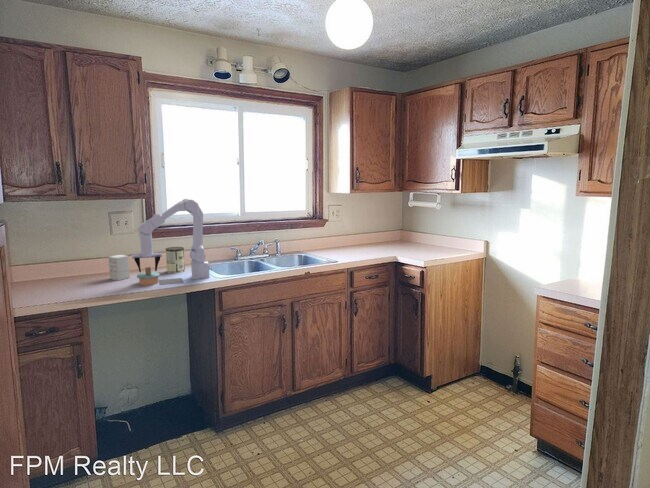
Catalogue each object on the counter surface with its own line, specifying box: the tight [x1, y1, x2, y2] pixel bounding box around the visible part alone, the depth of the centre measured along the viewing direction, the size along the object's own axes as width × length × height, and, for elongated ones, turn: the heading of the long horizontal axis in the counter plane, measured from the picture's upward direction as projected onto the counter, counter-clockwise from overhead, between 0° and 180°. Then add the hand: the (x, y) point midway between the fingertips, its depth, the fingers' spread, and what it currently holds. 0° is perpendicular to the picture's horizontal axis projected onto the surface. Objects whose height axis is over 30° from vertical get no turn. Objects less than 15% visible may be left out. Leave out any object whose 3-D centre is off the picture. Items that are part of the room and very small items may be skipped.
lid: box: [136, 266, 161, 279], centre depth 223 cm, size 11×11×5 cm
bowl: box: [138, 276, 159, 286], centre depth 223 cm, size 9×9×4 cm
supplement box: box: [107, 254, 130, 281], centre depth 233 cm, size 7×7×13 cm
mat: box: [158, 277, 185, 286], centre depth 227 cm, size 12×12×1 cm
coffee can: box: [165, 246, 186, 274], centre depth 251 cm, size 10×10×14 cm
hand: (148, 271), depth 222 cm, fingers open, 7 cm apart
